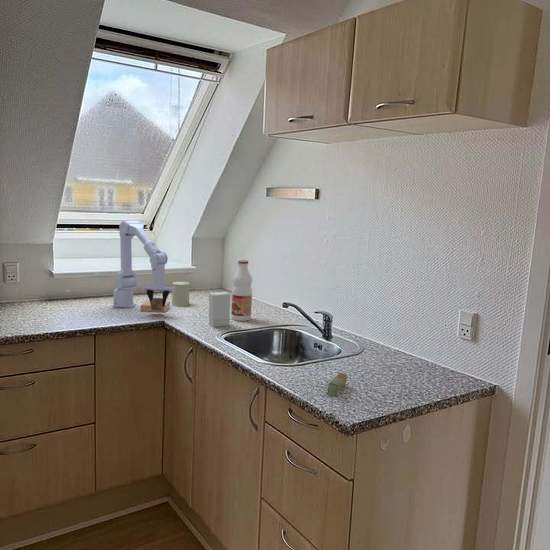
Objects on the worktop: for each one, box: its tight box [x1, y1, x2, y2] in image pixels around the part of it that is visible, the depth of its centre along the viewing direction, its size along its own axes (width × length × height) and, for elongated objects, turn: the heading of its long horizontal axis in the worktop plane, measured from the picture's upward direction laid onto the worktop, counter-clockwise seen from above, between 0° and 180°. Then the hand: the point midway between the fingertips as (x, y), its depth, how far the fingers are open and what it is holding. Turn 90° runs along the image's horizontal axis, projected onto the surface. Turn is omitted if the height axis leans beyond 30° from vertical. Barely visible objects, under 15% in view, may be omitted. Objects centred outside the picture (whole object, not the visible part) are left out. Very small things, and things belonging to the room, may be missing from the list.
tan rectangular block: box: [139, 300, 171, 313], centre depth 261 cm, size 12×12×3 cm
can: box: [171, 281, 191, 307], centre depth 275 cm, size 9×9×12 cm
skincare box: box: [208, 291, 231, 328], centre depth 234 cm, size 8×6×15 cm
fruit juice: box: [230, 259, 253, 322], centre depth 247 cm, size 9×9×28 cm
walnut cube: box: [151, 297, 164, 311], centre depth 249 cm, size 5×5×5 cm
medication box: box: [326, 372, 348, 398], centre depth 161 cm, size 12×3×4 cm, turn 157°
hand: (157, 305), depth 249 cm, fingers closed on walnut cube, 5 cm apart
